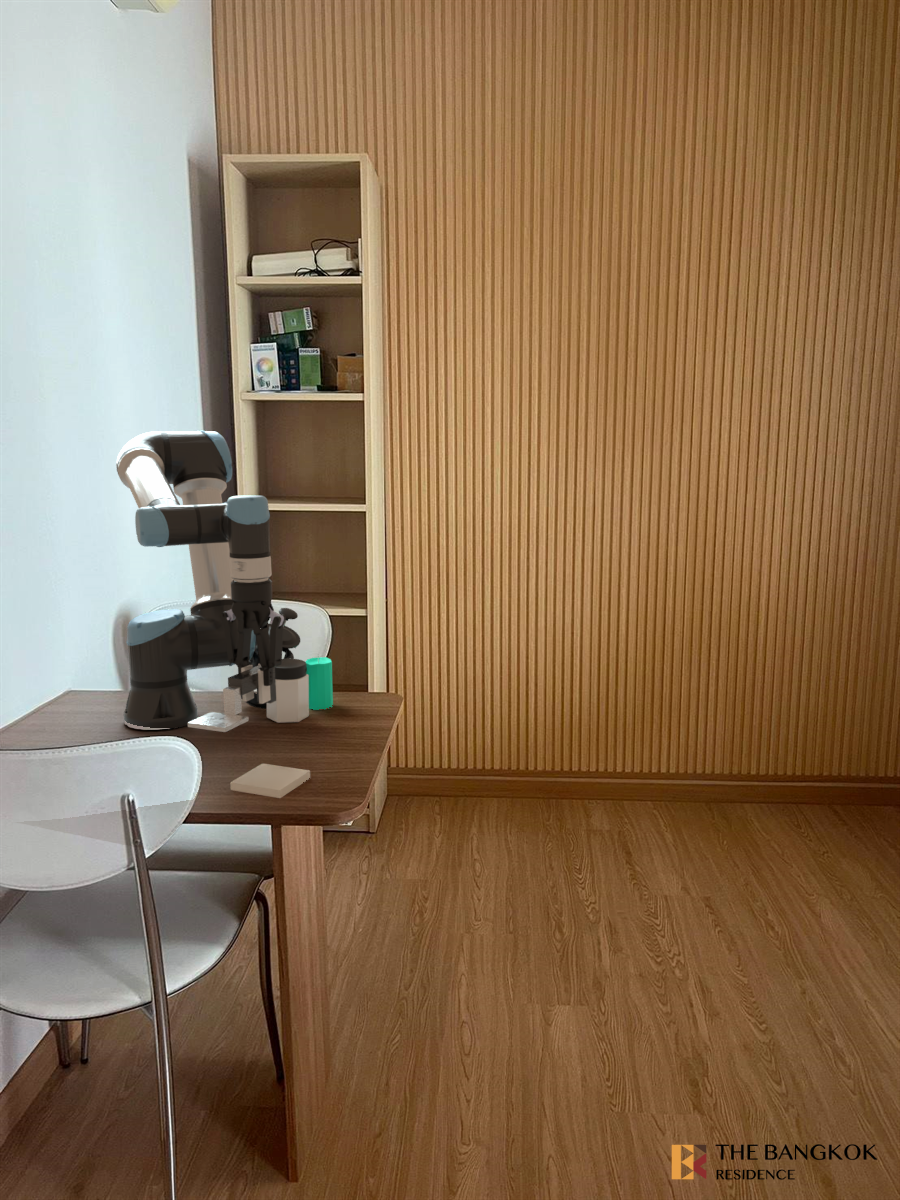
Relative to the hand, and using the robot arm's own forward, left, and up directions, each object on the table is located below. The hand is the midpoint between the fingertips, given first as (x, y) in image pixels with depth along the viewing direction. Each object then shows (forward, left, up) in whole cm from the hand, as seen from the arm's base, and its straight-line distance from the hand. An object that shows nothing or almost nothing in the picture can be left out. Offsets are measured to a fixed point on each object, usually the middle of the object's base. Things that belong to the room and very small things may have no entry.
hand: (256, 700), depth 183 cm
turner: (0, -6, -1) cm, 6 cm away
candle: (-5, +32, -11) cm, 34 cm away
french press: (-19, +27, -8) cm, 34 cm away
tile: (+11, -7, -10) cm, 17 cm away
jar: (-7, +22, -11) cm, 25 cm away
